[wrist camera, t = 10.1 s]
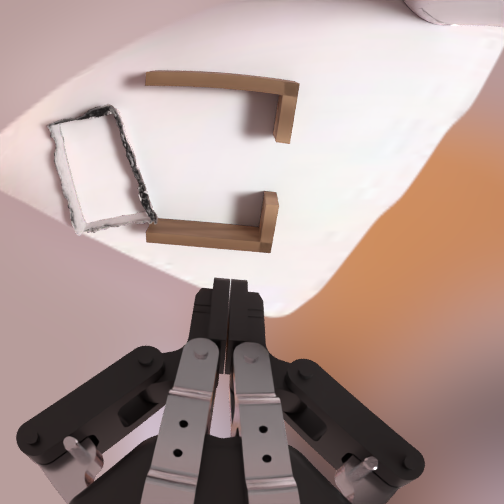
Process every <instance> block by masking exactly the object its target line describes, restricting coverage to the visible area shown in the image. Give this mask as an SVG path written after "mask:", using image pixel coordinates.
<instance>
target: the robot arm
mask: <svg viewBox="0 0 504 504" xmlns="http://www.w3.org/2000/svg"><path fill="white" fill-rule="evenodd" d="M403 1H404V2H405V3H406V5H407V6H408V7H409V8H410V9H411V10H412V11H413V12H414V13H416V14H417V15H418V16H419V17H421V18H423V19H424V20H426V21H428V22H431V23H434V24H437V25H452V26H457V25H477V26H498V27H504V0H403ZM229 290H230V298H229ZM225 352H226V362H225V374H230V384H229V404H230V421H231V437H230V438H218V437H215V436H212V435H210V427H211V420H212V414H213V407H214V400H215V394H216V388H217V386H218V381H219V374H223V371H224V361H225ZM165 404H166V406H165V409H164V413H163V417H162V421H161V425H160V430H159V434H158V435H156V436H153V437H151V438H148V439H147V440H145V441H143V442H142V443H140V444H139V445H138V446H137V447H135V448H134V449H133V450H132V451H131V452H130V453H128V454H127V455H126V456H125V457H124V458H122V459H121V460H120V461H119V462H118V463H116V464H115V465H114V466H113V467H112V468H110V469H109V470H108V471H107V472H105V473H104V474H103V475H102V476H101V477H99V478H98V479H97V480H95V481H94V479H95V477H96V475H97V474H98V473H99V472H100V471H101V469H102V468H103V464H104V460H103V456H102V454H103V453H104V452H105V451H107V450H108V449H109V448H111V447H112V446H113V445H114V444H116V443H117V442H118V441H120V440H121V439H122V438H124V437H125V436H126V435H127V434H129V433H130V432H132V431H133V430H134V429H135V428H137V427H138V426H139V425H141V424H142V423H143V422H144V421H146V420H147V419H148V418H149V417H151V416H152V415H153V414H154V413H156V412H157V411H158V410H159V409H161V408H162V407H163V406H164V405H165ZM284 420H285V421H286V422H287V423H288V424H289V425H290V426H291V427H292V428H293V429H294V430H295V431H296V432H297V433H298V434H299V435H300V436H301V437H302V438H303V439H304V440H305V441H306V442H307V443H308V444H309V445H310V446H311V447H312V448H314V450H316V451H317V452H318V453H319V454H320V455H321V456H322V457H323V458H324V459H325V460H326V461H327V462H328V463H329V464H331V465H332V466H333V467H334V468H335V469H336V470H337V471H336V474H335V482H336V485H337V486H338V487H339V488H340V490H341V491H342V493H340V492H339V491H338V490H337V489H336V488H335V487H334V486H333V485H332V484H331V483H330V482H329V481H328V480H327V479H326V478H325V477H324V476H323V475H322V474H321V473H320V472H319V471H318V470H317V469H316V468H315V467H314V466H313V465H312V464H311V463H310V462H309V461H308V459H307V458H306V457H305V456H304V455H303V454H302V453H300V452H299V451H298V450H297V449H295V448H293V447H292V446H290V445H288V444H287V438H286V431H285V425H284ZM16 440H17V444H18V446H19V448H20V450H21V451H22V452H23V453H25V454H26V455H27V456H28V457H29V458H30V459H31V460H32V461H33V462H34V463H36V464H37V465H38V466H40V468H41V469H42V470H43V472H44V473H45V475H46V476H47V478H48V479H49V480H50V482H51V483H52V484H53V486H54V487H55V489H56V490H57V491H58V493H59V494H60V495H61V496H62V498H63V499H64V500H65V502H66V503H67V504H386V503H387V502H388V500H389V499H390V498H391V497H392V496H393V495H394V494H395V492H396V491H397V490H398V489H399V488H401V487H403V486H404V485H406V484H408V483H410V482H411V481H413V480H415V479H416V478H418V477H419V476H420V475H421V474H422V472H423V470H424V467H425V462H424V458H423V456H422V455H421V453H420V452H419V451H418V450H416V449H415V448H414V447H413V446H412V445H411V444H409V443H408V442H407V441H406V440H404V439H403V438H402V437H401V436H400V435H398V434H397V433H396V432H395V431H394V430H392V429H391V428H390V427H389V426H388V425H387V424H385V423H384V422H383V421H382V420H381V419H380V418H378V417H377V416H376V415H375V414H374V413H372V412H371V411H370V410H369V409H368V408H367V407H365V406H364V405H363V404H362V403H361V402H360V401H359V400H357V399H356V398H355V397H354V396H353V395H352V394H351V393H349V392H348V391H347V390H346V389H345V388H344V387H343V386H341V385H340V384H339V383H338V382H337V381H336V380H335V379H333V378H332V377H331V376H330V375H329V374H328V373H327V372H326V371H324V370H323V369H322V368H321V367H320V366H319V365H318V364H317V363H315V362H313V361H311V360H308V359H298V360H295V361H293V362H292V363H288V362H285V361H282V360H279V359H277V358H275V357H274V356H272V355H271V354H270V353H269V351H268V350H267V348H266V343H265V324H264V307H263V300H262V298H261V297H260V295H259V293H256V292H248V282H247V280H236V279H231V288H230V279H224V278H214V284H213V289H209V288H201V289H200V291H199V292H198V293H197V294H196V297H195V302H194V308H193V314H192V320H191V326H190V333H189V338H188V341H187V343H186V344H185V345H184V346H183V347H182V348H181V349H179V350H176V351H173V352H167V353H161V352H160V351H159V350H158V349H157V348H155V347H152V346H141V347H138V348H136V349H134V350H133V351H131V352H130V353H128V354H127V355H125V356H124V357H122V358H121V359H119V360H118V361H117V362H115V363H114V364H112V365H111V366H109V367H108V368H106V369H105V370H103V371H102V372H100V373H99V374H97V375H96V376H94V377H93V378H92V379H90V380H89V381H87V382H86V383H84V384H83V385H81V386H80V387H78V388H77V389H75V390H74V391H72V392H71V393H69V394H68V395H66V396H65V397H63V398H62V399H60V400H59V401H57V402H56V403H54V404H53V405H51V406H50V407H48V408H47V409H45V410H44V411H42V412H41V413H39V414H38V415H36V416H35V417H33V418H32V419H30V420H29V421H27V422H25V423H24V424H23V425H22V426H21V427H20V428H19V429H18V432H17V436H16Z"/></svg>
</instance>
